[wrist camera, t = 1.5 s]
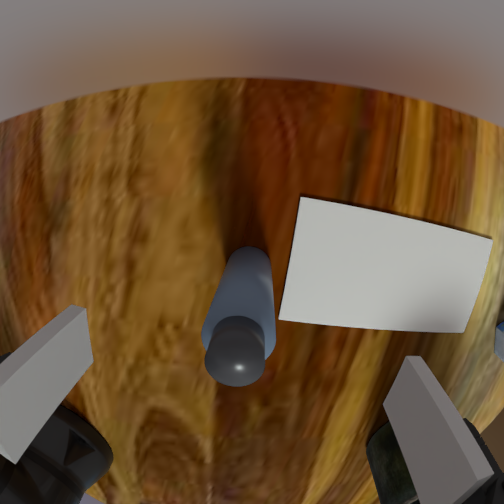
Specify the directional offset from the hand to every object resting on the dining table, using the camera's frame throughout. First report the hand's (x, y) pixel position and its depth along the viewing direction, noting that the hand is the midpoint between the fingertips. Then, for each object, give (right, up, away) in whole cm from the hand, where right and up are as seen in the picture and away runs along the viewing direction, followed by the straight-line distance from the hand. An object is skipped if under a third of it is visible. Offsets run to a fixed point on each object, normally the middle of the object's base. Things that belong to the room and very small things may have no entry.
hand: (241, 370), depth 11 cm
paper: (+13, +2, +12) cm, 18 cm away
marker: (0, +3, +13) cm, 13 cm away
